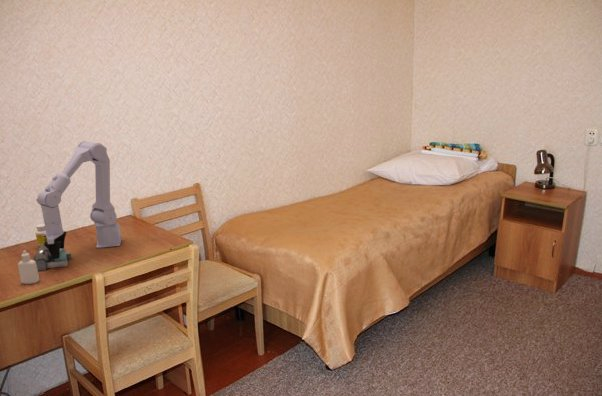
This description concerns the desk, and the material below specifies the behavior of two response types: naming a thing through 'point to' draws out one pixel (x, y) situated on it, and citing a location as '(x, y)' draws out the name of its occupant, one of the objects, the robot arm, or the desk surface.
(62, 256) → the teal cylinder
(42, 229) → the supplement bottle
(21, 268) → the eye dropper bottle
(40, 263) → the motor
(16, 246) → the desk surface
